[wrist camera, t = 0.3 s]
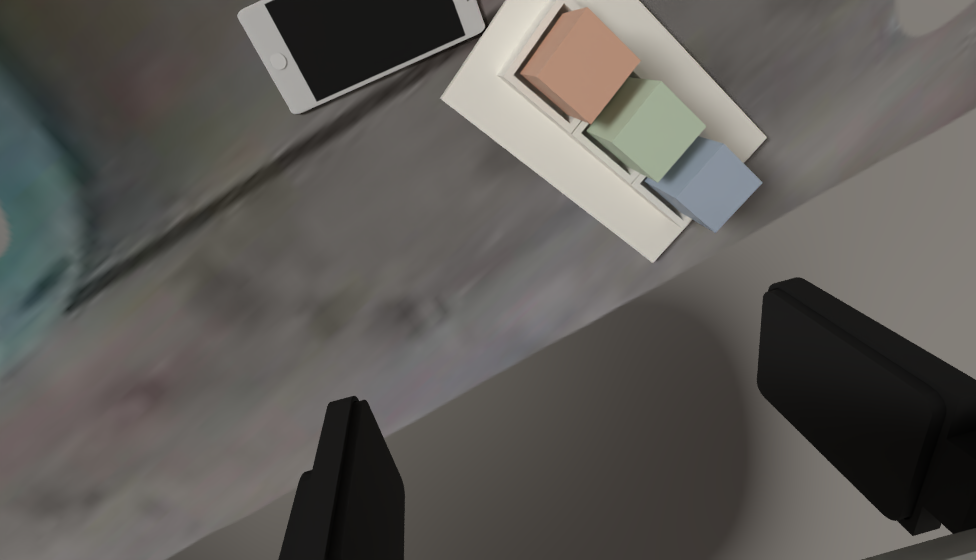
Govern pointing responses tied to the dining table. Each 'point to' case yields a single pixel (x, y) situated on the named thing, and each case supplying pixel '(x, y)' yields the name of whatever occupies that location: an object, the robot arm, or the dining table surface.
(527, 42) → the board
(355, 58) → the smartphone
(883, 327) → the robot arm
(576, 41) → the terracotta button
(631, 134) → the sage button
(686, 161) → the slate button
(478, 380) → the dining table surface
